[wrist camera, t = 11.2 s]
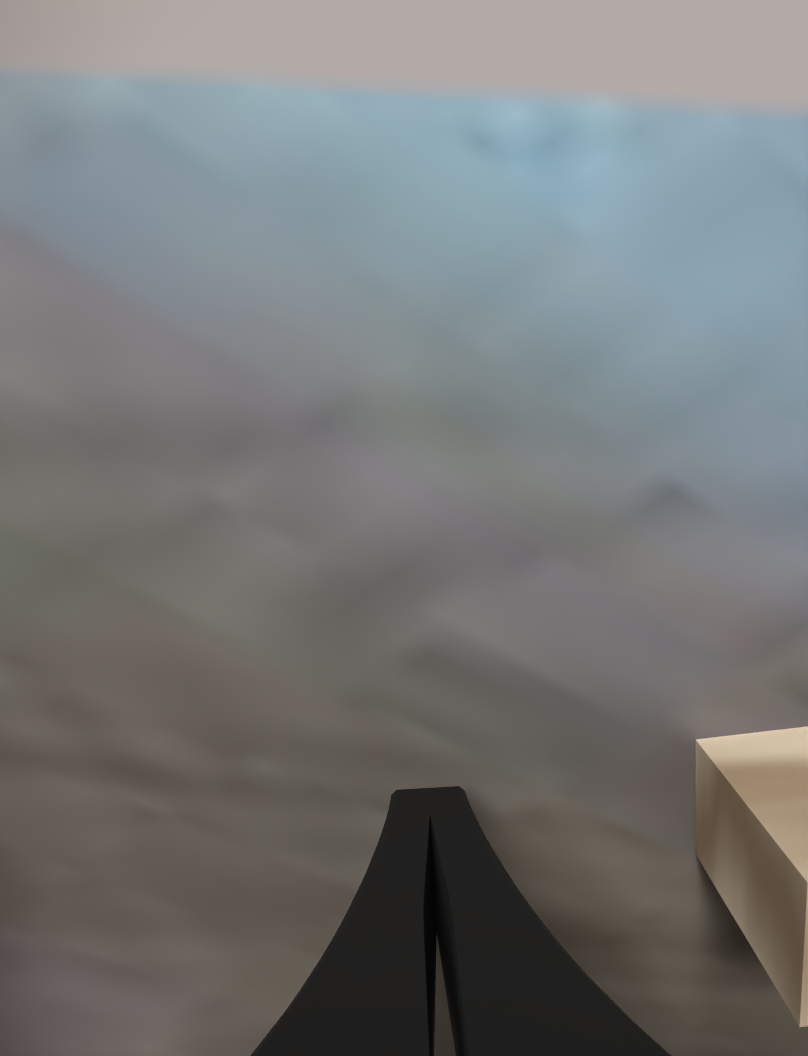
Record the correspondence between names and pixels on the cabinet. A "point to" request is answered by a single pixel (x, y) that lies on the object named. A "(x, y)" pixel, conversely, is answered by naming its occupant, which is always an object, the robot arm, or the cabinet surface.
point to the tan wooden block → (760, 846)
